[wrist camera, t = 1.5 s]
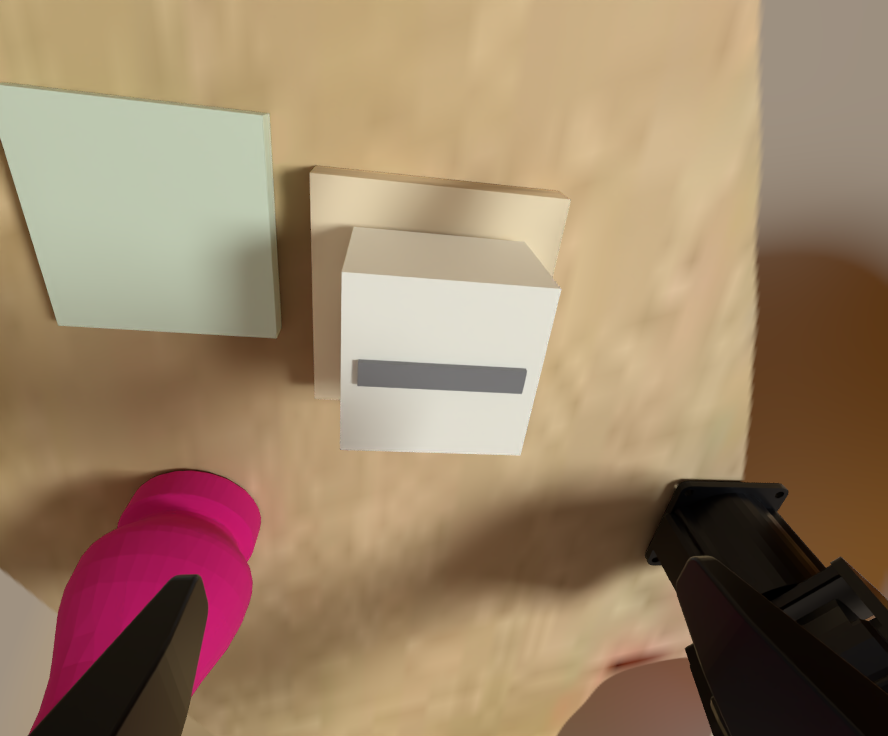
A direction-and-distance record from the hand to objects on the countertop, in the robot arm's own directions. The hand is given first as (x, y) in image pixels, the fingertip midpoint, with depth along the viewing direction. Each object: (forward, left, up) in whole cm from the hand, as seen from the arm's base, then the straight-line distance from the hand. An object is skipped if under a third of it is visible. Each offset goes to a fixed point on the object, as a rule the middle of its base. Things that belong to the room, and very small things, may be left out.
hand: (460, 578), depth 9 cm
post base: (0, 0, -13) cm, 13 cm away
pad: (+10, -2, -13) cm, 17 cm away
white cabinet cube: (0, 0, -11) cm, 11 cm away
